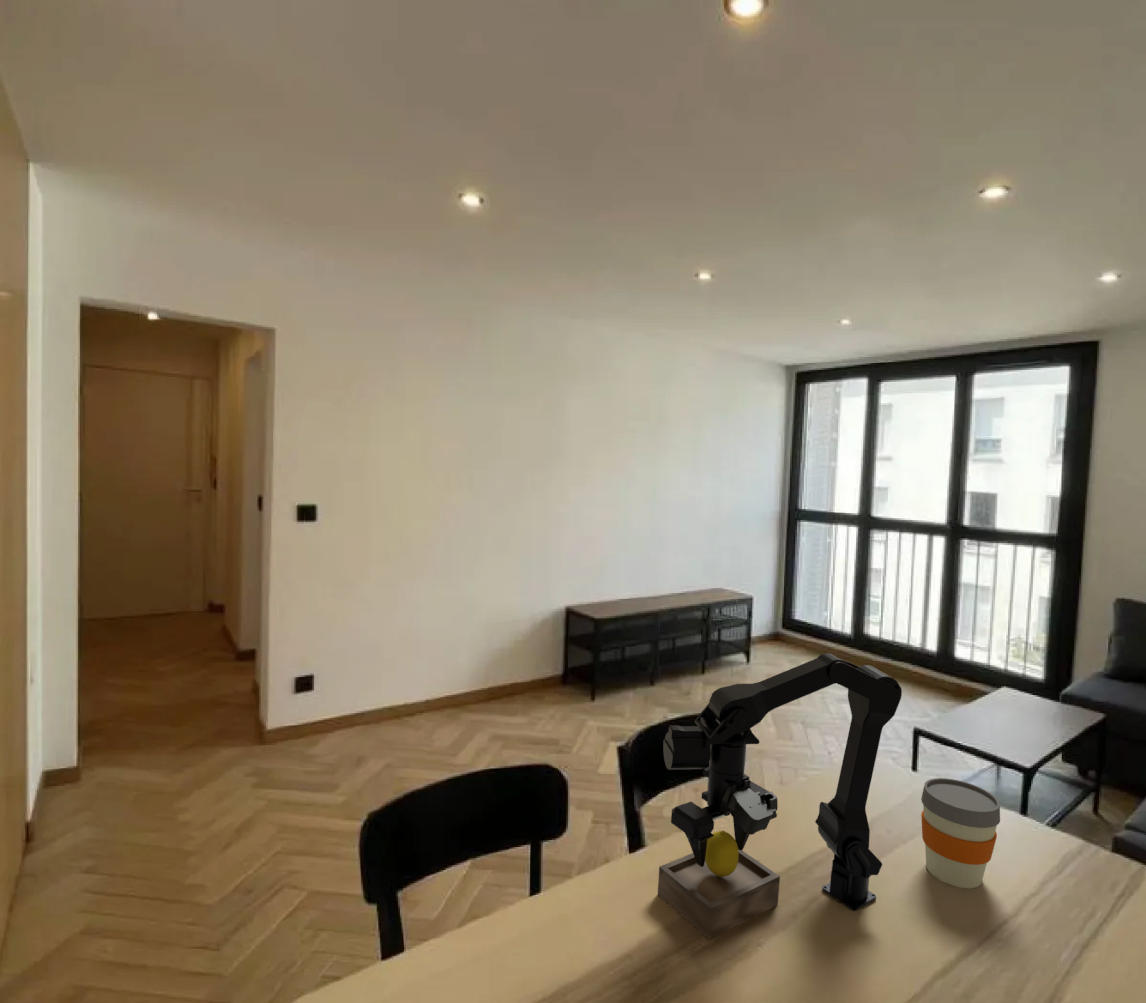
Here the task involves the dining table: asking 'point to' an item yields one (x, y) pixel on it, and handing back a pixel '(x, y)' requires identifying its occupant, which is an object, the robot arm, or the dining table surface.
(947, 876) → the reusable coffee cup
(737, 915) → the wooden tray
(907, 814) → the dining table surface
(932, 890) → the dining table surface
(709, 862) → the lemon
